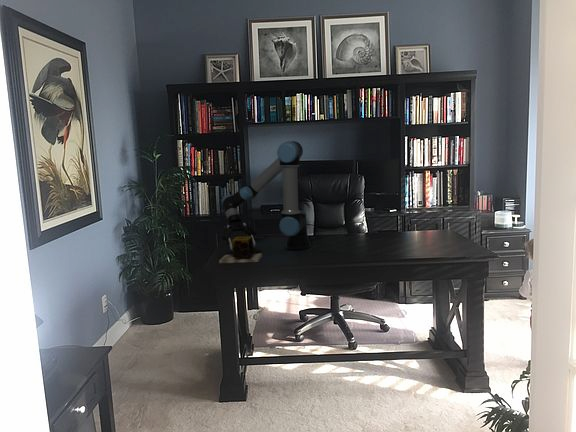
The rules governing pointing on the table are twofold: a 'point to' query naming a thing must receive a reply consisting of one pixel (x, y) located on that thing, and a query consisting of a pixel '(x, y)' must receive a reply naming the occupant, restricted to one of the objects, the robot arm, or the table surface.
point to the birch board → (240, 258)
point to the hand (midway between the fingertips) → (243, 247)
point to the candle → (242, 246)
